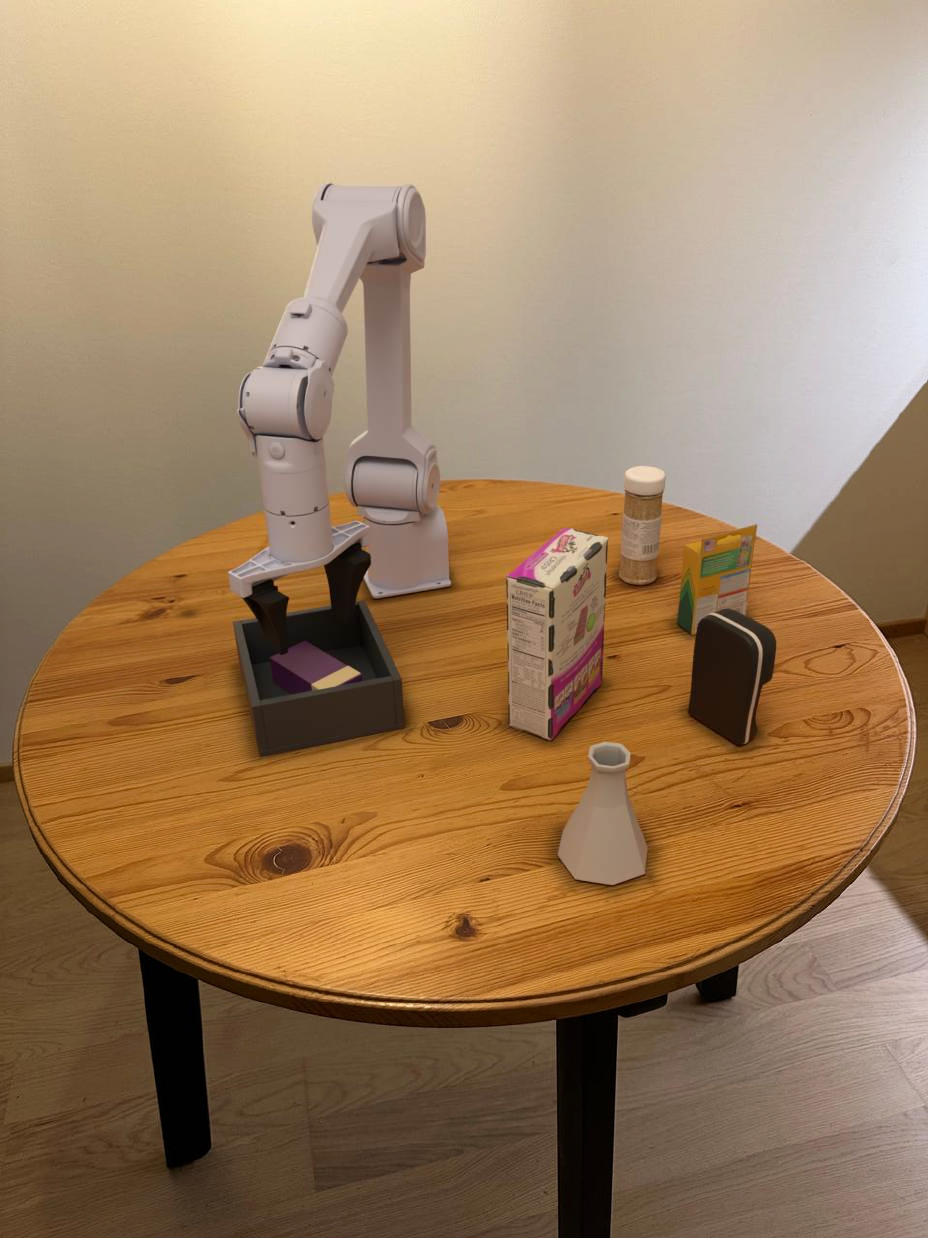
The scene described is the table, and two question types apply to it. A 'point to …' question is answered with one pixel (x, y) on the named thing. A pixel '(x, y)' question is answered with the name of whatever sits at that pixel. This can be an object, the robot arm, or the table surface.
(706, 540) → the crayon box
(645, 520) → the spice jar
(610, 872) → the flask
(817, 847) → the table surface
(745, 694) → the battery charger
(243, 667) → the open storage bin
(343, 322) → the robot arm
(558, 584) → the candy bar box
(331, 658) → the chocolate bar
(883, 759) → the table surface
